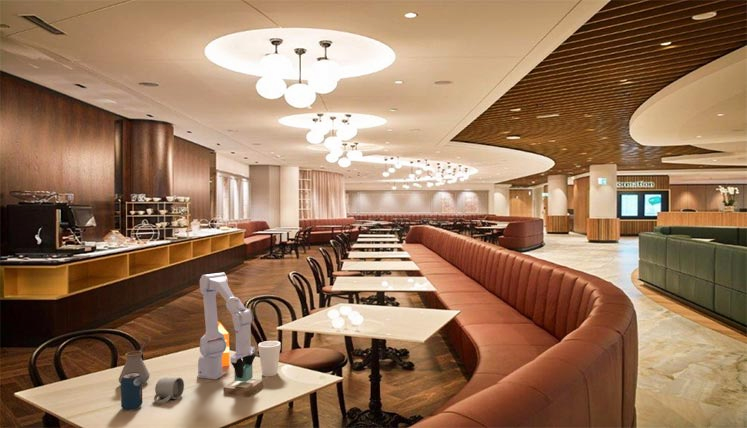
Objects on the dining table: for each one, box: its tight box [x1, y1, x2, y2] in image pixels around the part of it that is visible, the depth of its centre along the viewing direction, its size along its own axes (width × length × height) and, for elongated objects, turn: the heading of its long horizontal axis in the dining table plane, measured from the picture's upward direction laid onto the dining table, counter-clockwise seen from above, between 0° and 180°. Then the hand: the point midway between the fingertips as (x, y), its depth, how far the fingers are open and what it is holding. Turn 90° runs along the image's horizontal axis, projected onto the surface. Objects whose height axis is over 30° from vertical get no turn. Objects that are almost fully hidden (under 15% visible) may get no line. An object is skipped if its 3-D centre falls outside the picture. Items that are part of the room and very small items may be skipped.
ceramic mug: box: [153, 376, 185, 405], centre depth 184 cm, size 11×8×8 cm
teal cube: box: [234, 364, 253, 382], centre depth 192 cm, size 5×5×5 cm
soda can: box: [120, 372, 143, 412], centre depth 176 cm, size 7×7×12 cm
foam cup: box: [257, 340, 282, 377], centre depth 210 cm, size 10×9×13 cm
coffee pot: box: [118, 337, 151, 386], centre depth 203 cm, size 21×12×15 cm, turn 5°
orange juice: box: [211, 321, 230, 368], centre depth 222 cm, size 8×9×20 cm
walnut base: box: [223, 378, 264, 397], centre depth 192 cm, size 11×11×3 cm
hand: (243, 375), depth 192 cm, fingers closed on teal cube, 5 cm apart
